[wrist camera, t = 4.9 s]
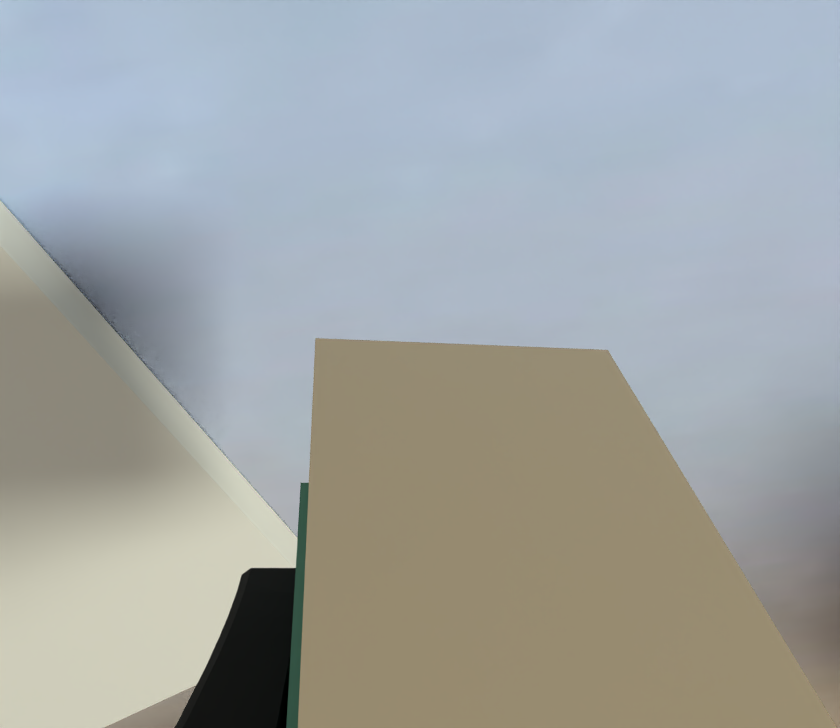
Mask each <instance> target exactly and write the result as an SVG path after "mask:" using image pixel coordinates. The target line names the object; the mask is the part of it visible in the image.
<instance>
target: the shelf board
mask: <svg viewBox="0 0 840 728" xmlns="http://www.w3.org/2000/svg"><path fill="white" fill-rule="evenodd" d="M297 539H298V538H297V537H296V536H295V535H294V534H293V533H292V532H291V530H290V529H289V528H288V527H287V526H286V525H285V524H284V522H283V521H282V520H281V519H280V518H279V517H278V516H277V514H276V513H275V512H274V511H273V510H272V509H271V508H270V507H269V505H268V504H267V503H266V502H265V501H264V500H263V499H262V497H261V496H260V495H259V494H258V493H257V492H256V491H255V489H254V488H253V487H252V486H251V485H250V484H249V483H248V482H247V480H246V479H245V478H244V477H243V476H242V475H241V474H240V472H239V471H238V470H237V469H236V468H235V467H234V466H233V464H232V463H231V462H230V461H229V460H228V459H227V458H226V456H225V455H224V454H223V453H222V452H221V451H220V450H219V449H218V447H217V446H216V445H215V444H214V443H213V442H212V441H211V439H210V438H209V437H208V436H207V435H206V434H205V433H204V431H203V430H202V429H201V428H200V427H199V426H198V425H197V424H196V422H195V421H194V420H193V419H192V418H191V417H190V416H189V414H188V413H187V412H186V411H185V410H184V409H183V408H182V406H181V405H180V404H179V403H178V402H177V401H176V400H175V399H174V397H173V396H172V395H171V394H170V393H169V392H168V391H167V389H166V388H165V387H164V386H163V385H162V384H161V383H160V381H159V380H158V379H157V378H156V377H155V376H154V375H153V374H152V372H151V371H150V370H149V369H148V368H147V367H146V366H145V364H144V363H143V362H142V361H141V360H140V359H139V358H138V356H137V355H136V354H135V353H134V352H133V351H132V350H131V349H130V347H129V346H128V345H127V344H126V343H125V342H124V341H123V339H122V338H121V337H120V336H119V335H118V334H117V333H116V331H115V330H114V329H113V328H112V327H111V326H110V325H109V323H108V322H107V321H106V320H105V319H104V318H103V317H102V316H101V314H100V313H99V312H98V311H97V310H96V309H95V308H94V306H93V305H92V304H91V303H90V302H89V301H88V300H87V298H86V297H85V296H84V295H83V294H82V293H81V292H80V291H79V289H78V288H77V287H76V286H75V285H74V284H73V283H72V281H71V280H70V279H69V278H68V277H67V276H66V275H65V273H64V272H63V271H62V270H61V269H60V268H59V267H58V266H57V264H56V263H55V262H54V261H53V260H52V259H51V258H50V256H49V255H48V254H47V253H46V252H45V251H44V250H43V248H42V247H41V246H40V245H39V244H38V243H37V242H36V241H35V239H34V238H33V237H32V236H31V235H30V234H29V233H28V231H27V230H26V229H25V228H24V227H23V226H22V225H21V223H20V222H19V221H18V220H17V219H16V218H15V217H14V215H13V214H12V213H11V212H10V211H9V210H8V209H7V208H6V206H5V205H4V204H3V203H2V202H1V201H0V728H104V727H106V726H108V725H110V724H112V723H115V722H117V721H119V720H121V719H123V718H125V717H128V716H130V715H132V714H134V713H136V712H139V711H141V710H143V709H145V708H147V707H149V706H152V705H154V704H156V703H158V702H160V701H162V700H165V699H167V698H169V697H171V696H173V695H175V694H178V693H180V692H182V691H184V690H186V689H188V688H191V687H193V686H195V685H197V683H198V681H199V679H200V677H201V675H202V673H203V671H204V669H205V667H206V665H207V663H208V661H209V659H210V656H211V654H212V652H213V650H214V648H215V645H216V643H217V641H218V639H219V636H220V634H221V632H222V629H223V627H224V625H225V622H226V620H227V617H228V615H229V612H230V609H231V607H232V604H233V601H234V598H235V595H236V592H237V589H238V586H239V582H240V579H241V575H242V574H243V573H245V572H246V571H247V570H249V569H250V568H296V556H297Z"/></svg>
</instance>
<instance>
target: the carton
mask: <svg viewBox="0 0 840 728" xmlns="http://www.w3.org/2000/svg"><path fill="white" fill-rule="evenodd" d="M286 728H837V727H836V725H835V724H834V722H833V720H832V719H831V717H830V715H829V714H828V712H827V710H826V709H825V707H824V706H823V704H822V702H821V701H820V699H819V697H818V696H817V694H816V692H815V691H814V689H813V687H812V686H811V684H810V682H809V681H808V679H807V678H806V676H805V674H804V673H803V671H802V669H801V668H800V666H799V664H798V663H797V661H796V659H795V658H794V656H793V654H792V653H791V651H790V650H789V648H788V646H787V645H786V643H785V641H784V640H783V638H782V636H781V635H780V633H779V631H778V630H777V628H776V626H775V625H774V623H773V622H772V620H771V618H770V617H769V615H768V613H767V612H766V610H765V608H764V607H763V605H762V603H761V602H760V600H759V598H758V597H757V595H756V594H755V592H754V590H753V589H752V587H751V585H750V584H749V582H748V580H747V579H746V577H745V575H744V574H743V572H742V570H741V569H740V567H739V566H738V564H737V562H736V561H735V559H734V557H733V556H732V554H731V552H730V551H729V549H728V547H727V546H726V544H725V542H724V541H723V539H722V538H721V536H720V534H719V533H718V531H717V529H716V528H715V526H714V524H713V523H712V521H711V519H710V518H709V516H708V515H707V513H706V511H705V510H704V508H703V506H702V505H701V503H700V501H699V500H698V498H697V496H696V495H695V493H694V491H693V490H692V488H691V487H690V485H689V483H688V482H687V480H686V478H685V477H684V475H683V473H682V472H681V470H680V468H679V467H678V465H677V463H676V462H675V460H674V459H673V457H672V455H671V454H670V452H669V450H668V449H667V447H666V445H665V444H664V442H663V440H662V439H661V437H660V435H659V434H658V432H657V431H656V429H655V427H654V426H653V424H652V422H651V421H650V419H649V417H648V416H647V414H646V412H645V411H644V409H643V407H642V406H641V404H640V403H639V401H638V399H637V398H636V396H635V394H634V393H633V391H632V389H631V388H630V386H629V384H628V383H627V381H626V379H625V378H624V376H623V375H622V373H621V371H620V370H619V368H618V366H617V365H616V363H615V361H614V360H613V358H612V356H611V355H610V353H609V351H608V350H594V349H569V348H544V347H520V346H495V345H470V344H445V343H420V342H395V341H370V340H345V339H320V338H316V339H315V361H314V383H313V405H312V427H311V449H310V470H309V483H301V489H300V505H299V522H298V539H297V556H296V573H295V589H294V606H293V623H292V640H291V657H290V673H289V690H288V707H287V724H286Z"/></svg>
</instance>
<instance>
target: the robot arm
mask: <svg viewBox="0 0 840 728" xmlns="http://www.w3.org/2000/svg"><path fill="white" fill-rule="evenodd" d="M295 573H296V568H250V569H249V570H247V571H246V572H245V573H243V574H242V575H241V579H240V582H239V586H238V589H237V592H236V595H235V598H234V601H233V604H232V607H231V609H230V612H229V615H228V617H227V620H226V622H225V625H224V627H223V629H222V632H221V634H220V636H219V639H218V641H217V643H216V645H215V648H214V650H213V652H212V654H211V656H210V659H209V661H208V663H207V665H206V667H205V669H204V671H203V673H202V675H201V677H200V679H199V681H198V683H197V685H196V687H195V689H194V691H193V693H192V695H191V697H190V699H189V701H188V703H187V705H186V707H185V709H184V711H183V713H182V715H181V717H180V719H179V721H178V723H177V725H176V726H175V728H286V724H287V707H288V690H289V673H290V657H291V640H292V623H293V606H294V589H295Z"/></svg>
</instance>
